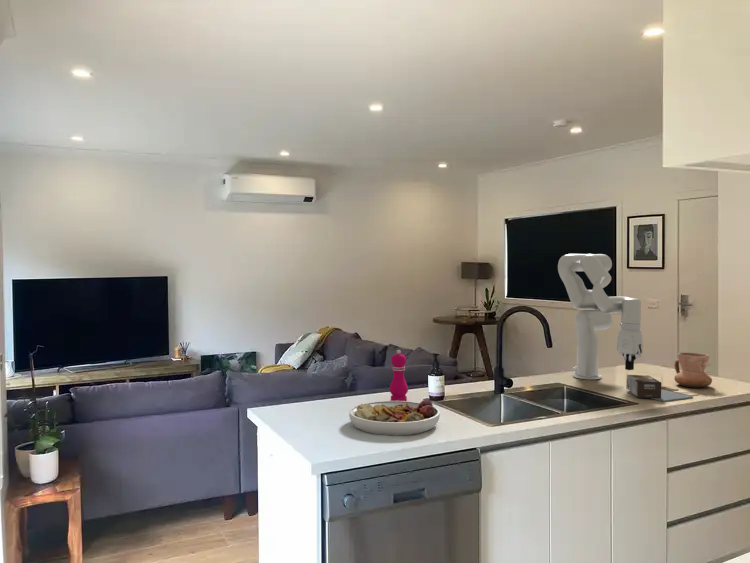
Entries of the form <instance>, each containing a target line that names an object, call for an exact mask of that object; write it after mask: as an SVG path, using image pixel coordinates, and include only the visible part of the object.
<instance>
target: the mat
mask: <svg viewBox="0 0 750 563" xmlns="http://www.w3.org/2000/svg"><path fill="white" fill-rule="evenodd" d="M626 393H627V394H629V393H630V395H633V393H632V392H630V391H629V390H628V391H626ZM688 398H691V399H694V396H688V395H683V394H679V393H674V392H673V391H668V390H664V389H661V398H651V399H650V400H654V399H655V400H654V401H658V400H659V401H658V402H662V401H663V402H662V403H667V401H668V402H674V400H676V401H681V400H682V399H683V400H688ZM683 400H682V401H683Z"/></svg>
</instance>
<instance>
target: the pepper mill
mask: <svg viewBox="0 0 750 563" xmlns="http://www.w3.org/2000/svg"><path fill="white" fill-rule="evenodd" d="M390 363H391V365H392V371H393V377H392V380H391V383H390V385H389V393H390V394H391V396H390V401H408V396H407V393H408V392H409V387H408V383H407V381H406V379H405V370H406V366H405V365H406V363H407V357H406V356H405V355H404V354H402V351H401V350H400V349H397V350H396V353H395V354H393V355H392V356H391V358H390Z"/></svg>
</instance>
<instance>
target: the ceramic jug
mask: <svg viewBox="0 0 750 563" xmlns="http://www.w3.org/2000/svg"><path fill="white" fill-rule="evenodd" d="M709 359H710V354H707V353H696V352H695V353H694V352H689V351H688V352H683V351H680V352H678V353H677V358H676V359H675V361H674V369H675V372H676V374H675V375H674V381H675V383H677V384H679V385H680V386H682V387H685V388H686V387H687V388H692V389H699V388H707V387H709V386H710V385H711V384H712V382H713V379H712V377H711V376H710V375H709V374H707V373H706V372H705V369H706V367H708V368H709V367H710V366H711V364H710V363H709ZM679 365H680V366H679ZM680 367H681V369H682V370H680Z"/></svg>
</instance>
